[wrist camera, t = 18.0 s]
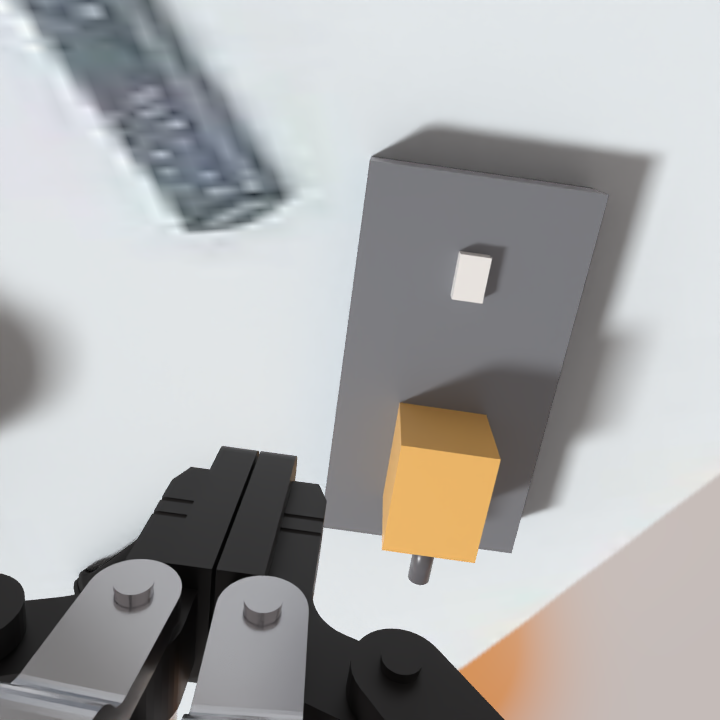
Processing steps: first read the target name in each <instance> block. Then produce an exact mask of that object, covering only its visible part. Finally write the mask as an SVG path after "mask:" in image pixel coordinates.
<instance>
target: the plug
mask: <svg viewBox="0 0 720 720" xmlns="http://www.w3.org/2000/svg"><path fill="white" fill-rule="evenodd" d="M500 461H501V459H500V456H499V452H498V449H497V446H496V443H495V440H494V437H493V434H492V431H491V428H490V425H489V422H488V418H487V415H484V414H477V413H470V412H463V411H456V410H449V409H442V408H435V407H428V406H421V405H414V404H407V403H399V409H398V414H397V420H396V426H395V431H394V437H393V442H392V448H391V454H390V459H389V465H388V470H387V476H386V482H385V487H384V493H383V517H382V550H386V551H393V552H400V553H407V554H412V559H411V564H410V569H409V574H408V578H409V580H410V581H411V582H413V583H415V584H418V585H424V584H426V583H428V581H429V577H430V573H431V568H432V564H433V559H434V557H436V558H443V559H450V560H457V561H464V562H471V563H475V560H476V556H477V552H478V548H479V544H480V540H481V536H482V532H483V528H484V524H485V520H486V516H487V512H488V508H489V504H490V500H491V496H492V492H493V488H494V485H495V481H496V477H497V473H498V469H499V465H500Z"/></svg>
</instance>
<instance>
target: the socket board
mask: <svg viewBox="0 0 720 720" xmlns="http://www.w3.org/2000/svg"><path fill="white" fill-rule="evenodd" d="M608 197H609V195H608V194H605V193H603V192H600V191H598V190H595V189H592V188H587V187H580V186H573V185H566V184H559V183H552V182H545V181H538V180H531V179H525V178H518V177H511V176H504V175H497V174H490V173H483V172H476V171H469V170H462V169H455V168H448V167H441V166H434V165H427V164H420V163H413V162H406V161H399V160H392V159H385V158H378V157H371V159H370V163H369V170H368V178H367V185H366V193H365V200H364V208H363V215H362V223H361V230H360V238H359V245H358V253H357V260H356V268H355V275H354V282H353V290H352V297H351V305H350V312H349V320H348V327H347V335H346V342H345V350H344V357H343V365H342V372H341V380H340V387H339V394H338V402H337V409H336V417H335V424H334V432H333V439H332V447H331V454H330V462H329V469H328V477H327V484H326V492H325V498H326V500H327V504H326V511H325V519H324V526H323V527H324V528H332V529H339V530H346V531H353V532H361V533H368V534H375V535H382V517H383V493H384V487H385V482H386V476H387V470H388V465H389V459H390V454H391V448H392V442H393V437H394V431H395V426H396V420H397V414H398V409H399V403H407V404H414V405H421V406H428V407H435V408H442V409H449V410H456V411H463V412H470V413H477V414H484V415H487V418H488V422H489V425H490V428H491V431H492V434H493V437H494V440H495V443H496V446H497V449H498V452H499V456H500V459H501V461H500V465H499V469H498V473H497V477H496V481H495V485H494V488H493V492H492V496H491V500H490V504H489V508H488V512H487V516H486V520H485V524H484V528H483V532H482V536H481V540H480V544H479V548H478V549H484V550H492V551H499V552H506V553H512V549H513V545H514V542H515V538H516V534H517V531H518V527H519V523H520V520H521V516H522V512H523V509H524V505H525V501H526V498H527V494H528V490H529V487H530V483H531V479H532V476H533V472H534V468H535V465H536V461H537V457H538V454H539V450H540V446H541V443H542V439H543V435H544V432H545V428H546V424H547V421H548V417H549V413H550V410H551V406H552V402H553V399H554V395H555V391H556V388H557V384H558V380H559V376H560V373H561V369H562V365H563V362H564V358H565V354H566V351H567V347H568V343H569V340H570V336H571V332H572V329H573V325H574V321H575V318H576V314H577V310H578V307H579V303H580V299H581V296H582V292H583V288H584V285H585V281H586V277H587V274H588V270H589V266H590V263H591V259H592V255H593V252H594V248H595V244H596V241H597V237H598V233H599V230H600V226H601V222H602V219H603V215H604V211H605V208H606V204H607V200H608Z"/></svg>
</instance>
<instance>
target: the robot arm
mask: <svg viewBox="0 0 720 720" xmlns="http://www.w3.org/2000/svg"><path fill="white" fill-rule="evenodd" d="M296 467H297V456H292V455H285V454H277V453H270V452H263V451H261V452H260V454H259V451H255V450H248V449H240V448H233V447H226V446H222V447H221V448H220V450H219V452H218V454H217V456H216V458H215V460H214V462H213V464H212V466H211V468H210V470H209V469H202V468H195V467H190V468H189V469H187V470H186V471H184V472H183V473H182V474H180V475H179V476H177V477H176V478H174V479H173V480H172V481H171V483H170V484H169V486H168V488H167V489H166V491H165V493H164V495H163V496H162V500H160V501H159V503H158V505H157V507H156V508H155V510H154V514H152V515H151V517H150V518H149V520H148V522H147V524H146V525H145V527H144V529H143V530H142V532H141V534H140V536H139V537H138V539H137V541H136V542H135V544H134V546H133V547H132V549H131V551H130V553H129V554H128V556H127V558H126V559H125V561H122V562H119V563H116V564H113V565H111V566H109V567H107V568H105V569H103V570H102V571H100V572H99V573H98V574H96V575H95V576H94V577H93V578H92V579H91V580H90V581H89V583H88V584H87V585H86V587H85V588H84V589H83V591H82V592H81V593H79V594H75V595H71V596H65V597H57V598H47V599H38V600H28V601H25V595H24V590H23V588H22V586H21V584H20V583H19V582H18V581H17V580H15V579H14V578H12V577H10V576H7V575H4V574H0V720H177V709H178V707H179V704H180V702H181V699H182V696H183V693H184V691H185V688H186V685H187V682H195V683H197V685H196V689H195V693H194V697H193V701H192V705H191V709H190V712H189V714H184V715H183V717H182V720H504V719H503V718H502V717H501V716H500V715H499V713H498V712H497V711H496V710H495V709H494V708H493V707H492V706H491V705H490V704H489V703H488V702H487V701H486V700H485V699H484V698H483V697H482V696H481V695H480V693H479V692H478V691H477V690H476V689H475V688H474V687H473V686H472V685H471V684H470V683H469V682H468V681H467V680H466V679H465V678H464V677H463V675H462V674H461V673H460V672H459V671H458V670H457V669H456V668H455V667H454V666H453V665H452V664H451V663H450V662H449V661H448V660H447V659H446V658H445V656H444V655H443V654H442V653H441V652H440V651H439V650H438V649H437V648H436V647H435V646H434V645H433V644H432V643H430V642H429V641H428V640H426V639H425V638H423V637H421V636H419V635H417V634H415V633H412V632H410V631H406V630H401V629H382V630H377V631H374V632H372V633H369V634H368V635H366V636H364V637H363V638H362V639H361V640H360V641H358V640H355V639H353V638H351V637H348V636H346V635H344V634H342V633H340V632H338V631H336V630H335V629H333V628H332V627H330V626H329V625H328V624H327V623H326V622H325V621H324V620H323V619H322V618H321V617H320V616H319V614H318V612H317V611H316V609H315V606H314V603H313V595H314V589H315V582H316V576H317V570H318V563H319V556H320V548H321V541H322V534H323V526H324V519H325V511H326V504H327V500H326V498H325V496H324V494H323V492H322V490H321V488H320V486H319V484H312V483H305V482H297V481H295V476H296Z"/></svg>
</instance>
